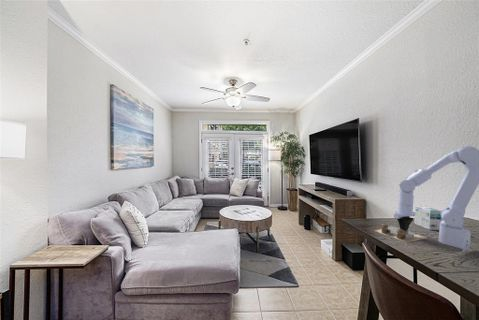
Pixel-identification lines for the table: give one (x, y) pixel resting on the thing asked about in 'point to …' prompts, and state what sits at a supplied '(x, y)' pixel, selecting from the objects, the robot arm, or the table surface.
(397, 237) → the board
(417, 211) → the light bulb box
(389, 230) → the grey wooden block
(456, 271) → the table surface
